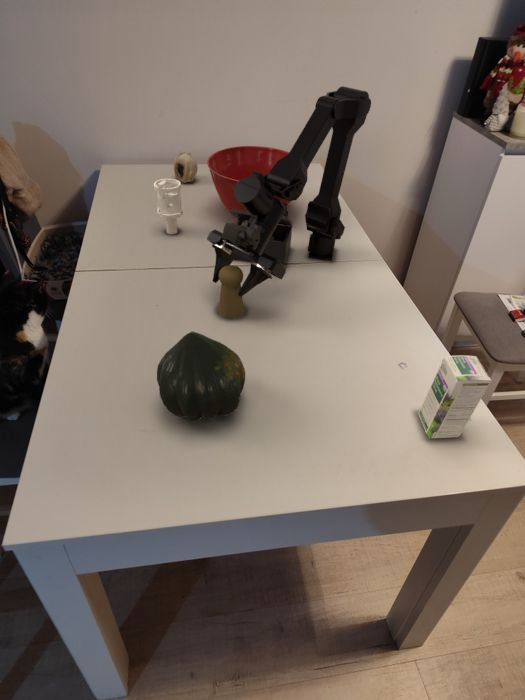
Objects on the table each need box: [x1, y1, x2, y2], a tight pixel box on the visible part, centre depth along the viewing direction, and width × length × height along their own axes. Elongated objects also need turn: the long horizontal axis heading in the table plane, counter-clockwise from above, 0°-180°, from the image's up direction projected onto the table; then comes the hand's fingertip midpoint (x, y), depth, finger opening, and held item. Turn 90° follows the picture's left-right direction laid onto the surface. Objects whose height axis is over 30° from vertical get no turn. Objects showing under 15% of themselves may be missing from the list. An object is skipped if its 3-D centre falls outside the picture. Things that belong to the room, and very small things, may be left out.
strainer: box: [153, 178, 184, 235], centre depth 122 cm, size 7×7×15 cm
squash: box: [156, 330, 246, 423], centre depth 77 cm, size 14×15×15 cm
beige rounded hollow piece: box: [173, 150, 199, 184], centre depth 152 cm, size 9×8×10 cm
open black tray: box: [230, 219, 293, 266], centre depth 118 cm, size 10×15×7 cm, turn 78°
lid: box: [229, 209, 293, 227], centre depth 113 cm, size 10×15×5 cm
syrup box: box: [417, 354, 492, 439], centre depth 74 cm, size 6×6×14 cm
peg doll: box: [217, 264, 245, 320], centre depth 97 cm, size 6×6×11 cm
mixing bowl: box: [206, 145, 292, 221], centre depth 133 cm, size 28×28×16 cm
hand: (226, 289), depth 95 cm, fingers open, 7 cm apart
